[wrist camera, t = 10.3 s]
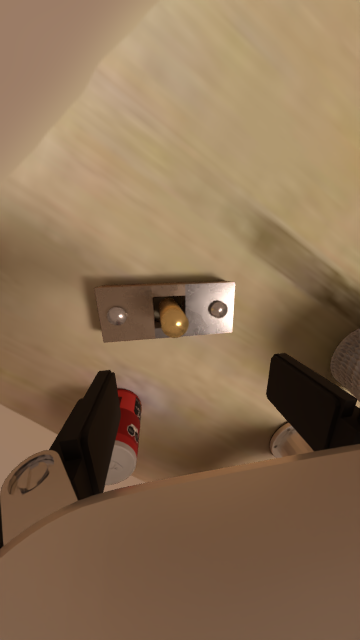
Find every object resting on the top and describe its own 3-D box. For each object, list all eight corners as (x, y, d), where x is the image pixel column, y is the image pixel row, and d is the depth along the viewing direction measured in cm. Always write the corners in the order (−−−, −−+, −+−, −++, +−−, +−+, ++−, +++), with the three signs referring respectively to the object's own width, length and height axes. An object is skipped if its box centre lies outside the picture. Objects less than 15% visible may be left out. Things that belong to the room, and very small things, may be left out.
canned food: (134, 423, 35) (125, 489, 25) (94, 415, 33) (66, 482, 23) (148, 394, 33) (145, 450, 23) (107, 383, 31) (84, 439, 21)
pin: (177, 297, 29) (188, 310, 19) (178, 315, 30) (188, 336, 20) (158, 298, 28) (160, 312, 19) (159, 316, 29) (162, 338, 20)
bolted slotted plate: (224, 280, 29) (237, 282, 25) (222, 324, 31) (233, 333, 27) (102, 285, 27) (92, 288, 22) (110, 333, 29) (102, 344, 25)
